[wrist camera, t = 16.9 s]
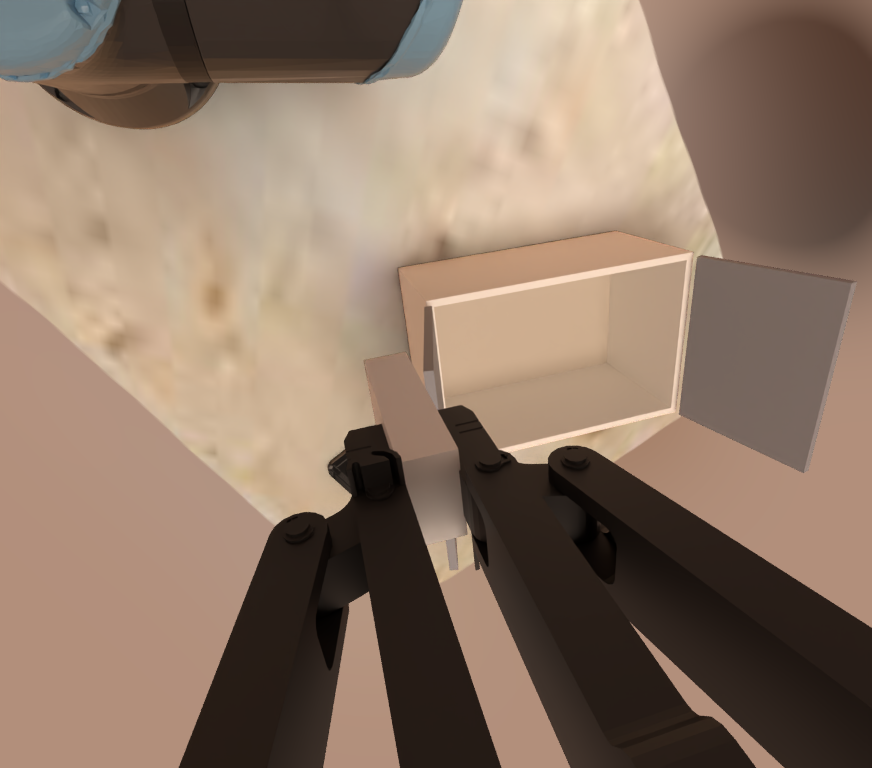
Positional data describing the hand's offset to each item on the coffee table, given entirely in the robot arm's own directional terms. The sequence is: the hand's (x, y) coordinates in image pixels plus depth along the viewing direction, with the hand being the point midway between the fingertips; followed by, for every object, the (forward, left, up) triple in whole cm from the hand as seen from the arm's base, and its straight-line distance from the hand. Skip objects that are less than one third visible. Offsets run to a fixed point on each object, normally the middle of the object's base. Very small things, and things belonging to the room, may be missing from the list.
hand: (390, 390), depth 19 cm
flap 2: (+12, +31, -16) cm, 37 cm away
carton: (+12, +18, -34) cm, 41 cm away
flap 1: (+12, +5, -16) cm, 20 cm away
